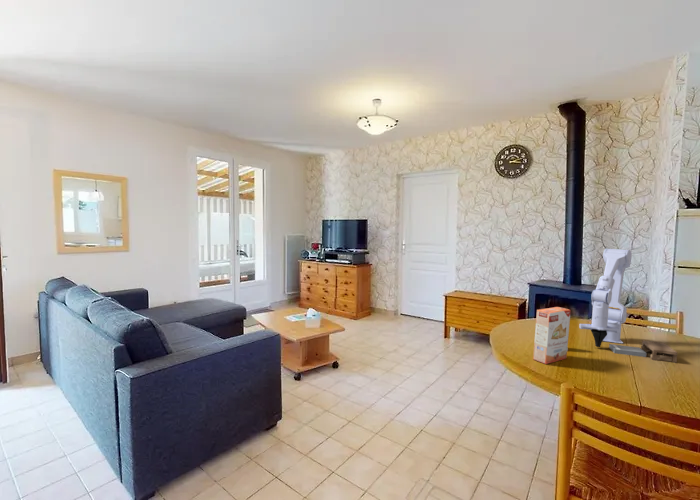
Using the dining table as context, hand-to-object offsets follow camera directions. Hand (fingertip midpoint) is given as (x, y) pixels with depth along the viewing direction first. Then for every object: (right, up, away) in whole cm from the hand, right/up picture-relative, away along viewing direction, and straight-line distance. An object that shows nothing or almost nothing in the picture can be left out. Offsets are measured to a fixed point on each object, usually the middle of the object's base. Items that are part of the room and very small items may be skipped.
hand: (597, 346), depth 154 cm
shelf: (+20, -2, -8) cm, 21 cm away
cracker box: (-29, -2, -13) cm, 32 cm away
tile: (+10, -2, -4) cm, 11 cm away
